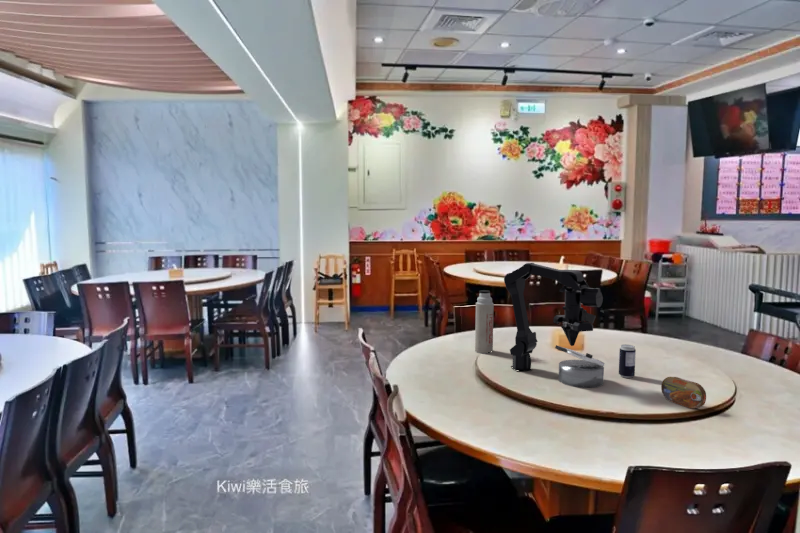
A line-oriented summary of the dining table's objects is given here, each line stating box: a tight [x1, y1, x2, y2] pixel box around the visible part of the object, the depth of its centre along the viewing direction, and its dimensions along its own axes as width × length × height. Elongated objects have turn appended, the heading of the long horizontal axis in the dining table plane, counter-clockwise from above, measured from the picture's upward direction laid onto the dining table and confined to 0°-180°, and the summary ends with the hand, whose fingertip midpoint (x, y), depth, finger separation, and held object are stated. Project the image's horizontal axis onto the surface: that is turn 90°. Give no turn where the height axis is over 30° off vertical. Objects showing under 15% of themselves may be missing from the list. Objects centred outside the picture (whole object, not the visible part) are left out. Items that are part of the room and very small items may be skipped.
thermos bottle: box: [474, 289, 494, 354], centre depth 246 cm, size 8×8×28 cm
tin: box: [660, 376, 707, 410], centre depth 179 cm, size 15×3×8 cm, turn 25°
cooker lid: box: [554, 344, 605, 367], centre depth 202 cm, size 19×16×2 cm
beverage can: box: [618, 344, 637, 379], centre depth 209 cm, size 6×6×12 cm
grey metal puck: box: [558, 359, 605, 389], centre depth 203 cm, size 16×16×6 cm
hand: (572, 345), depth 203 cm, fingers closed
